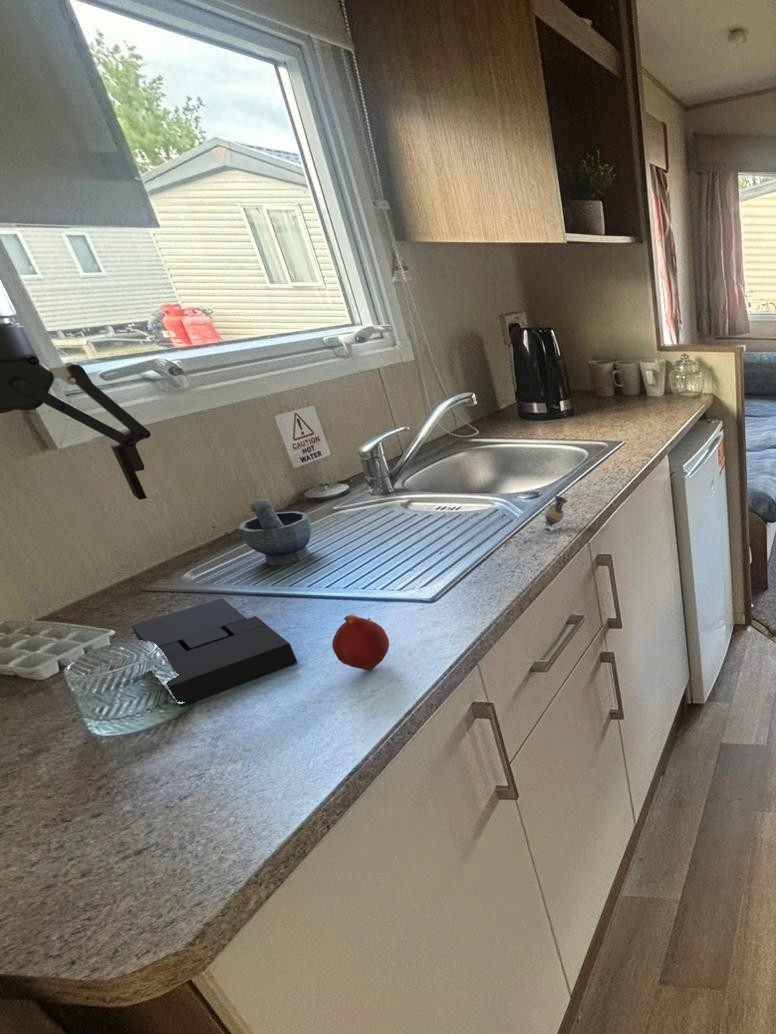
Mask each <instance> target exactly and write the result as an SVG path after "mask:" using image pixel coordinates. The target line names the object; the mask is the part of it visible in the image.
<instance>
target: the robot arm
mask: <svg viewBox="0 0 776 1034" xmlns="http://www.w3.org/2000/svg"><path fill="white" fill-rule="evenodd" d="M17 316H18V313H17V311H16V309H15V307H14V305H13V303H12V301H11V299H10V297H9V295H8V293H7V291H6V289H5V287H4V285H3V283H2V281H1V280H0V414H6V413H9V412H12V411H25V412H26V411H35V410H37V409H38V408H40V407H41V406H43V405H44V404H45V405H46V406H47V407H50V408H52V409H54V410H56V411H58V412H60V413H62V414H64V415H65V416H67V417H69V418H71V419H72V420H75V421H77V422H79V423H81V424H83V425H85V426H87V427H88V428H90V429H92V430H93V431H96V432H98V433H99V434H102V435H104V436H105V437H107V438H109V439H111V440H113V441H115V442H117V443H118V444H111V445H110V448H111V450H112V451H113V454H114V456H115V458H116V461H117V462H118V465H119V467H120V469H121V471H122V474H123V475H124V478H125V480H126V482H127V484H128V486H129V488H130V490H131V493H132V495H133V496H134V497H135V498H136V499H138V500H139V501H140V500H147V499H148V497H147V495H146V493H145V490H144V488H143V485H142V484H141V482H140V480H139V476H138V475H137V472H140V471H144V470H145V463H144V462H143V460H142V457H141V455H140V452H139V451H138V448H137V443H139V442H141V441H143V440H144V439H149V438H150V437H151V435H152V434H151V431H150V430H148V429H147V428H146V427H145V426H144V425H143V424H141V423H140V421H138V420H137V419H136V418H134V417H133V416H132V415H131V414H130V413H128V412H127V411H126V410H125V409H123V407H122V406H120V405H119V403H117V402H115V401H114V400H113V399H112V398H111V397H109V396H108V395H107V394H106V393H105V392H104V391H102V390H101V389H100V388H99V387H97V386H96V385H95V384H94V383H93V382H92V380H91V378H90V377H89V375H88V373H87V372H86V370H85V369H84V367H83V366H82V365H80V364H77V363H75V362H66V363H65V364H64V365H59V366H53V367H46V366H45V365H44V364H43V363H42V361H41V360H40V358H39V356H38V354H37V352H36V350H35V348H34V346H33V344H32V341H31V339H30V337H29V335H28V334H27V332H26V329H25V327H24V325H22V324H20V323H19V322H16V321H13V319H12V318H15V317H17ZM56 378H57V379H61V380H62V381H63V382H64V383H66V384H68V385H71V386H75V385H76V386H77V388H79V389H80V390H81V391H82V392H83V393H84V394H85V395H87V396H88V397H89V398H90V399H92V400H93V401H94V402H95V403H97V405H99V406H100V407H101V408H102V409H104V410H105V411H106V412H107V413H108V414H110V415H111V416H112V417H113V418H114V419H116V420H117V421H118V422H119V423H120V424H122V426H124V427H125V428H127V429H128V430H126V431H124V432H121V430H118V429H116V428H114V427H113V426H110V425H109V424H107V423H105V422H103V421H101V420H100V419H98V418H96V417H94V416H93V415H90V414H89V413H86V412H85V411H83V410H81V409H79V408H77V407H75V406H74V405H72V404H70V403H69V402H67V401H65V400H62V399H61V398H59V397H57V396H55V395H53V394H51V393H50V392H49V391H50V390H51V388H52V385H53V383H54V381H55V379H56Z"/></svg>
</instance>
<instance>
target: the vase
mask: <svg viewBox="0 0 776 1034" xmlns="http://www.w3.org/2000/svg"><path fill="white" fill-rule="evenodd" d="M554 499H555V502H554V503H553V504H549V505H548V506H547V507H546V508H545V511H544V517H545V521H544V522H543V523H542V524H544V523H545V524H546V526H552V525H553V524H554V525H556V524H558V523H560V522H562V520H563V518H564V516H565V512H564V511H565V510H564V509H563V506H564V504H566V503H567V502H568V499H567V498H566V497H565V498H564V497H563V496H558V495H555V496H554ZM541 503H542V502H541ZM537 516H540V515H537ZM555 523H556V524H555ZM551 532H553V531H551ZM551 532H550V533H551Z"/></svg>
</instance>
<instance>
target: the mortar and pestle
mask: <svg viewBox="0 0 776 1034" xmlns="http://www.w3.org/2000/svg"><path fill="white" fill-rule="evenodd" d="M250 510H251V511H252V512H254V513H255V517H253V518H250V519H248V520H245V521H242V522H241V523H240V525H239V526H238V531H239V533H240V536H241V538H242V539H243V541H244V542H245V544H246V545H247V546H248V547H250V548H251V549H252V550H253V551H255V552H258V553H260V554H262V555H264V556H265V557H264V558H265V563H266V564H267V565H272V566H282V565H283V566H285V565H289V564H294V563H298V562H300V561H302V560H305V559H307V558H308V557H310V551H309V548H307V545H308V544H309V543H310V539H311V534H312V530H313V529H312V522H311V518H310V516H309V514H308V513H307V512H302V511H299V510H297V511H295V510H294V511H278V512H275V510H274V509H273V504H272V502H271V501H270V500H268V499H266V498H257V499H255V500H253V501H252V502H251V503H250Z"/></svg>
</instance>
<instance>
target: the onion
mask: <svg viewBox="0 0 776 1034" xmlns="http://www.w3.org/2000/svg"><path fill="white" fill-rule="evenodd" d="M343 619H344V623H342V624H341V625H340V626H339V627H338V629H337V630H336V632H335V634H334V636H333V638H332V643H331V644H332V645H331V646H332V650H333V651H332V652H333V653H334V654H335V656H336V658H337V659H338V661H339V662H341V663H342V664H344V665H346V666H348V667H351V668H356V669H361V670H363V671H372V670H373V669H375V668H376V667H377V666H378V665H379V664H380V663H381V662H382V661H383V660H384V659H385V657H386V656H387V654H388V651H389V648H390V639H389V637H388V635H387V633H386V631H385V630H384V628H383V627H382V626H381V625H380V624H378V623H377V622H375V621H373V620H371V619H367V618H364V617H359V616H357V615H356V614H355V615H354V614H347V615H346V616H345V617H343Z"/></svg>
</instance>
